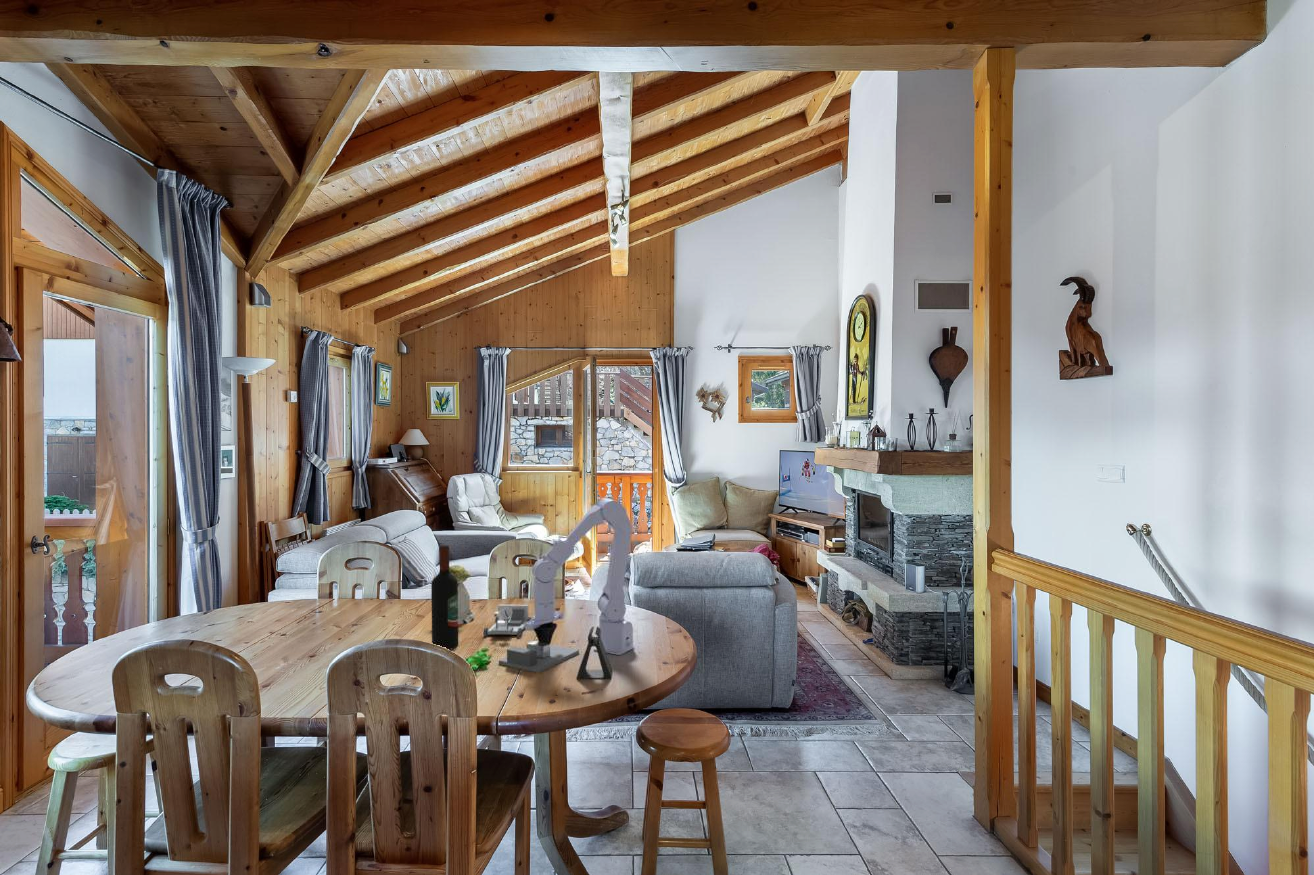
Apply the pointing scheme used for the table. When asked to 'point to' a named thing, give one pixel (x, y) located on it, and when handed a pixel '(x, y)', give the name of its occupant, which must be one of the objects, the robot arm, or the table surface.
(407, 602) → the table surface
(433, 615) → the wine bottle
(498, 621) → the toy car
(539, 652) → the plunger
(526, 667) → the gauge base
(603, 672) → the phone stand
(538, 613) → the robot arm
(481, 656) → the crocodile figurine
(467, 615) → the yellow-capped mushroom figurine
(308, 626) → the table surface
